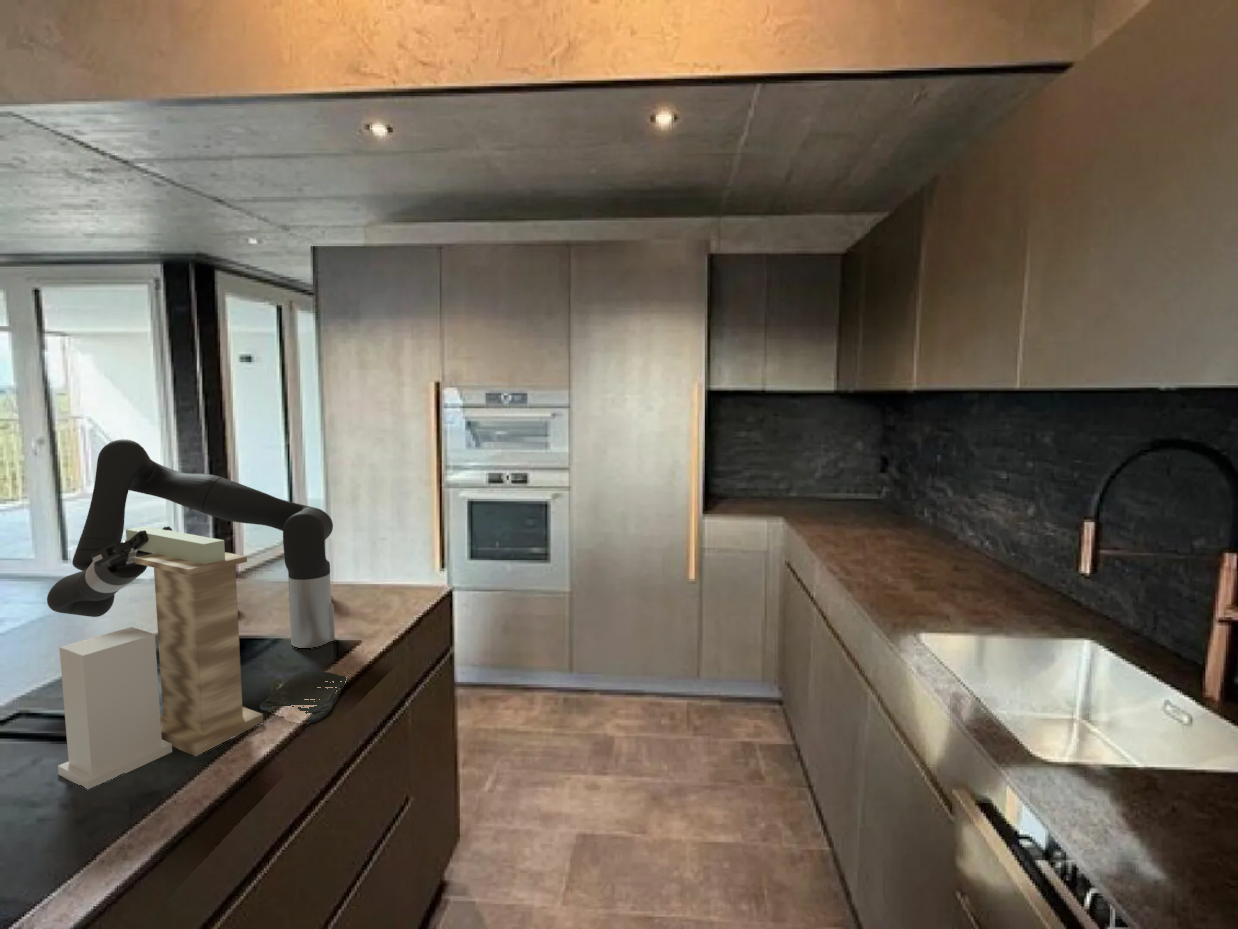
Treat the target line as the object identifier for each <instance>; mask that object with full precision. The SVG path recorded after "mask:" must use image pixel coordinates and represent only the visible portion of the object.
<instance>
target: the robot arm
mask: <svg viewBox="0 0 1238 929" xmlns="http://www.w3.org/2000/svg"><path fill="white" fill-rule="evenodd" d="M97 456H98V457H97V460H96V469H95V470H96V471H95V479H94V486H93V490H92V491H93V492H92V495H91V501H90V505H89V509H88V512H87V515H86V516H87V517H86V518H85V523H84V526H83V529H82V532H81V535H80V538H79V539H78V543H77V547H76V549H75V552H74V555H73V558H72V564H71V565H72V566H73V568H75V569H77V570H79V571H78V572H75V573H72V574H70V575H67V576H64V577H63V578H61V579H59V580H58V581H57V582H56V583H55V584H53V585H52V587H51V588H50V589H49V591H48V594H47V598H46V602H47V606H48V607H49V609H50V610H52V611H54V612H55V613H60V614H68V615H74V616H83V617H89V618H90V617H91V618H98V617H101V616H104V615H105V614H106V613H108V612H109V610H111V608H112V606H113V604H114V602H115V594H116V593H117V592H119V591H120V590H121V589H124V588H125V587H127V586H128V585H130V584H131V583H133V581H134V580H136V579H137V578H138V577H140V576H141V575H143V573H145V571H146V570H147V568H148V566H145V565H141V564H136V563H134V558H135V557H140V556H145V555H150V554H154V553H149V552H144V551H140V550H138V548H141V547H142V546H143V545H144V544H145V543H146V542H148V536H147V532H146V531H145V530H143V531H139V532H138V533H137V534H136V535H134V536H133V537H132V538H128V539H125V540H123V535H124V530H125V529H124V528H125V515H126V514H125V513H126V504H127V499H128V493H129V492H130V491H131V492H134V493H135V492H136V493H140V494H144V495H149V496H153V497H157V498H161V499H164V500H167V501H170V502H172V503H175V504H177V505H180V506H182V507H185V508H188V509H191V510H194V511H197V512H200V513H202V514H204V515H207V516H211V517H214V518H216V519H220V520H224V521H228V522H233V523H240V524H241V523H242V524H250V525H257V526H258V525H259V526H266V527H270V528H273V529H277V530H279V531H282V545H283V555H284V556H283V557H284V564H285V568H286V569H287V574H288V576H287V577H288V597H289V601H288V602H289V622H290V623H289V625H290V645H291V644H292V645H293V646H295V647H298V648H311V647H317V646H320V645H323V644H326V643H328V642H329V641H331V640H335V641H336V638H335V637H336V636H335V634H336V633H335V631H336V630H335V606H334V603H333V602H332V588H331V587H332V586H331V584H332V582H331V563H330V561H329V560H328V559H327V556H326V544H325V542H326V541H325V540H327V539H328V538H329V536H330V535H331V534H332V532H333V530H334V529H333V527H334V524H333V520H332V518H331V516H330V515H329V514H328V513H327V512H325V511H324V510H322V509H320V508H318V507H314V506H309V505H306V504H300V503H297V502H292V501H290V500H289V501H288V500H285V499H282V498H278V497H276V496H273V495H271V494H268V493H266V492H263V491H260V490H257V489H255V488H252V487H249V486H247V485H244V484H241V483H239V482H236V481H235V480H234V481H233V480H231V479H228V478H225V477H222V476H219V475H215V474H208V473H185V472H182V471H178V470H174V469H173V468H169V467H167V466H164V465H162V464H159V463H157V462H156V461H154V460H153V459H151V458H150V456H149V454H148V453H147V451H146V450H145V448H144V447H143V446H142V445H141V443H140V444H139V443H138V442H136V441H135V440H132V439H123V438H122V439H121V438H120V439H117V440H112V441H110V442H109V443H107V444H106V445H104V446H103V447H102V448H101V449H100V452H99V453H98V455H97ZM162 529H164V530H170V531H173V528H171V527H170V525H169V526H163V527H162ZM328 644H329V643H328ZM326 645H327V644H326ZM317 648H318V647H317ZM311 649H312V648H311Z"/></svg>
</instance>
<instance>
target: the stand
mask: <svg viewBox="0 0 1238 929" xmlns="http://www.w3.org/2000/svg"><path fill="white" fill-rule="evenodd" d="M134 563H136V564H141V565H145V566H147V567H151V568H153V574H154V576H153V577H154V590H155V592H154V593H155V605H156V606H155V607H156V608H155V610H156V622H157V638H158V655H159V670H160V671H159V672H160V682H161V683H160V684H161V687H160V688H161V700H162V701H161V702H162V703H161V704H162V714H160V721H161V737H162V740H165V741H167V742H169V743H172V748H175V749H178V750H179V751H181V752H185V753H187V754H189V755H191V754H192V755H191V756H193V755H195V756H194V757H196V756H197V755H198V754H201V755H203V754H204V753H203V752H205V751H207V750H209V749H211V748H213V747H215V746H217V745H219V744H221V743H222V742H225V741H227V740H228V739H230V738H231V737H233V736H236V735H238V734H240V733H242V732H244V731H245V730H249V729H251V728H252V727H253V726H255V725H257V724H259V723H260V722H262V721H263V722H264V713H261V712H258V711H257V710H252V709H249V708H247V707H246V706H243V693H242V670H241V656H240V655H241V653H240V633H239V632H240V631H239V630H240V629H239V612H238V608H239V607H238V592H237V572H236V571H237V568H236V565H240V564H243V563H248V557H247V555H243V554H235V553H232V552H226V551H225V560H222V561H217V562H213V563H208V564H201V563H196V562H192V561H187V560H182V559H177V558H173V557H168V556H163V555H159V554H150V555H145V556H140V557H135V558H134ZM221 745H222V744H221ZM219 746H220V745H219ZM217 747H218V746H217ZM215 748H216V747H215ZM213 749H214V748H213ZM211 750H212V749H211ZM209 751H210V750H209ZM207 752H208V751H207ZM202 753H203V754H202ZM205 753H206V752H205ZM197 757H198V756H197Z"/></svg>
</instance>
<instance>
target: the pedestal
mask: <svg viewBox="0 0 1238 929" xmlns="http://www.w3.org/2000/svg"><path fill="white" fill-rule="evenodd" d="M156 643H157V642H156V634H155V633H154V632H153V633H152V632H149V631H146V630H143V629H139V628H136V627H133V626H130V627H126V628H123V629H119V630H116V631H112V632H109V633H105V634H101V635H98V636H94V637H91V638H87V639H84V640H79V641H76V642H73V643H69V644H66V645H62V646H59V647H58V648H59V657H60V672H61V686H62V693H63V694H62V696H63V709H64V710H63V711H64V719H65V720H64V721H65V735H66V745H67V747H66V748H67V758H68V759H67V760H68V761H66V762H62V763H61V764H58V765H57V769H58V770H57V771H58V772H57V773H58V776H60V777H62V778H63V779H66V780H68V781H69V782H71V783H73V784H75V783H76V784H75V785H77V784H78V785H77V786H79V785H82V786H84V787H85V788H87V789H89V788H91V787H93V786H96V785H99V784H101V783H103V782H106V781H107V780H110V779H112V780H114V779H113V778H115V777H117V776H118V775H120V774H122V773H125V774H127V773H129V772H131V771H132V772H133V771H134V770H136V769H138V768H140V767H143V766H145V765H147V764H149V763H151V762H154V761H156V760H157V759H160V758H162V757H164V756H166V755H169V754H170V753H173V746H172V743H169V742H167V741H165V740H162V737H161V721H160V715H161V711H160V709H161V708H160V692H159V691H160V690H159V677H158V675H159V674H158V663H157V662H158V661H157V646H156ZM117 778H118V777H117ZM115 779H116V778H115ZM110 781H111V780H110ZM106 783H107V782H106ZM99 786H100V785H99Z"/></svg>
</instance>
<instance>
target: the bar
mask: <svg viewBox="0 0 1238 929" xmlns="http://www.w3.org/2000/svg"><path fill="white" fill-rule="evenodd" d="M143 530H145V531H146V532H147V536H148V542H146V543H145V544H144V545H143V546H142V547H141V548H138V550H140V551H144V552H149V553H154V554H159V555H163V556H168V557H173V558H177V559H182V560H187V561H192V562H196V563H201V564H208V563H213V562H217V561H222V560H225V552H226V549H225V547H226V546H225V540H224V539H221V538H213V537H210V536H209V537H207V536H202V535H197V534H191V533H186V532H182V531H174V530H172V531H170V530H164V529H163V528H159V527H153V526H148V525H147V526H138V527H133V528H125V537H126V539H128V538H132V537H133V536H134V535H136V534H137V533H138V532H139V531H143ZM126 539H125V540H126Z"/></svg>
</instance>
